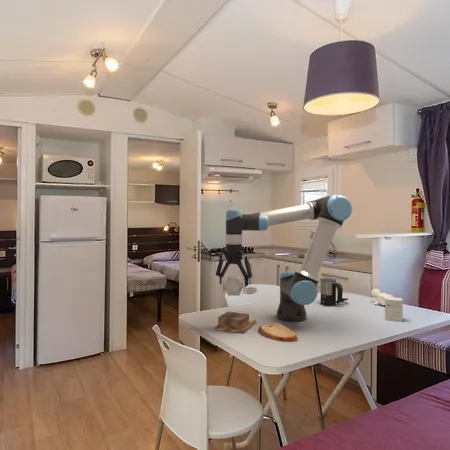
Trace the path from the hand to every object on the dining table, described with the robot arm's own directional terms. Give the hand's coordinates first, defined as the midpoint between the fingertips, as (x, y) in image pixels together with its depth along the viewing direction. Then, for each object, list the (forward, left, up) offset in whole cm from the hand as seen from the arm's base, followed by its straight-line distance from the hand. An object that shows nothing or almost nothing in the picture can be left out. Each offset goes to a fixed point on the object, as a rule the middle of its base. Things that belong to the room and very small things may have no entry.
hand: (233, 292), depth 171 cm
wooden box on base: (0, -3, -17) cm, 17 cm away
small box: (-69, -43, -17) cm, 83 cm away
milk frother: (-38, -66, -17) cm, 78 cm away
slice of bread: (-21, +1, -17) cm, 27 cm away
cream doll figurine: (-65, -74, -17) cm, 100 cm away
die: (0, 0, -1) cm, 1 cm away
